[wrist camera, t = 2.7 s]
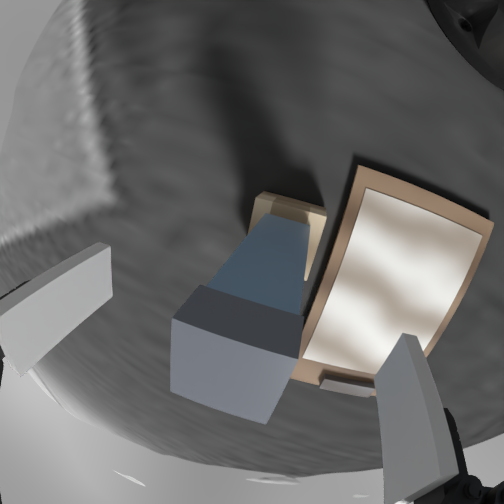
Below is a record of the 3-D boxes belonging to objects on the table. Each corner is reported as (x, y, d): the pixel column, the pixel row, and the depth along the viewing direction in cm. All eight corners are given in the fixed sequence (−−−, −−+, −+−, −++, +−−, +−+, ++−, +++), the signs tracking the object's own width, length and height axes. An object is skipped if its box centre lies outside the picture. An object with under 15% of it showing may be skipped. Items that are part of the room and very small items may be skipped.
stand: (263, 190, 21) (255, 197, 19) (325, 207, 21) (326, 216, 18) (251, 248, 23) (241, 261, 21) (308, 264, 23) (306, 280, 20)
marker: (267, 206, 20) (171, 317, 7) (313, 218, 20) (298, 359, 7) (257, 248, 22) (170, 391, 8) (301, 261, 21) (266, 424, 8)
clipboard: (357, 164, 19) (360, 165, 18) (490, 221, 17) (498, 225, 16) (284, 372, 28) (282, 381, 26) (394, 395, 26) (395, 403, 25)
